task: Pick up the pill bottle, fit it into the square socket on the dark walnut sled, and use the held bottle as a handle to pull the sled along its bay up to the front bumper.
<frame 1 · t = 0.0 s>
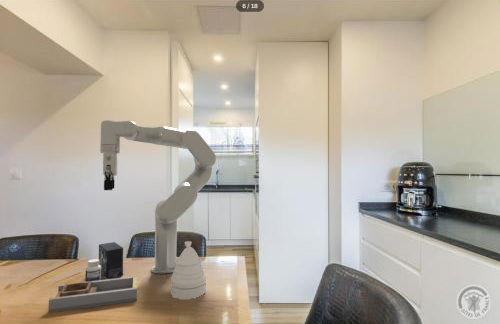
hand: (109, 189, 126), 37 cm above the table, tool pointing down, fingers open, 9 cm apart
small box: (110, 273, 129), on the table
pill bottle: (93, 286, 115), on the table
bay: (97, 298, 104), on the table
honey pot: (188, 292, 110), on the table
crate: (76, 292, 101), point 3 cm above the table, slide at 0.0 cm
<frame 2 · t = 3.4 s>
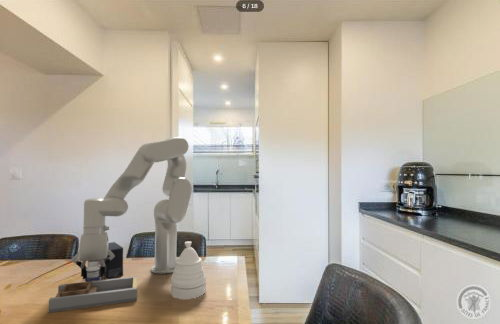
hand: (93, 276, 115), 4 cm above the table, tool pointing down, fingers closed on pill bottle, 5 cm apart
pill bottle: (93, 286, 115), on the table, touching gripper
everything else where it was.
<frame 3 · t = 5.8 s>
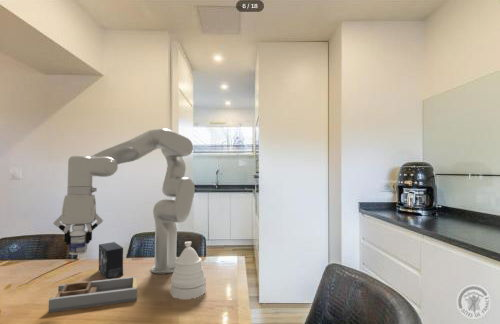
hand: (78, 242, 103), 20 cm above the table, tool pointing down, fingers closed on pill bottle, 5 cm apart
pill bottle: (78, 253, 102), point 16 cm above the table, touching gripper
everything else where it was.
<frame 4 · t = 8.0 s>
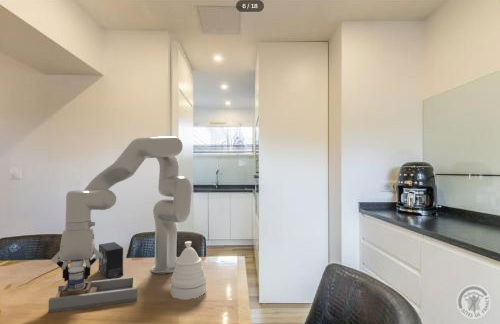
hand: (76, 278, 101), 8 cm above the table, tool pointing down, fingers closed on pill bottle, 5 cm apart
pill bottle: (76, 289, 101), point 4 cm above the table, touching gripper
everything else where it was.
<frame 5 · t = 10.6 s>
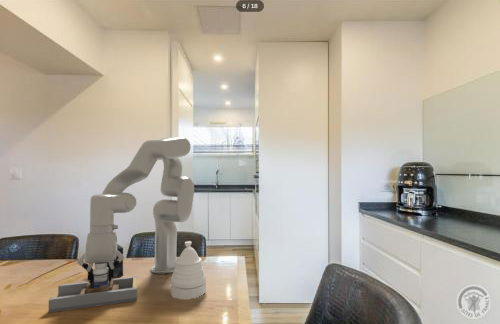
hand: (100, 280, 104), 6 cm above the table, tool pointing down, fingers closed on pill bottle, 5 cm apart
pill bottle: (100, 290, 104), point 2 cm above the table, touching crate, gripper
crate: (99, 289, 104), point 3 cm above the table, slide at 7.3 cm, touching pill bottle
everything else where it was.
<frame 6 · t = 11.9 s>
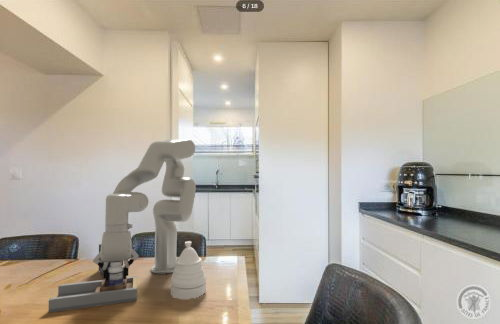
hand: (116, 278, 106), 6 cm above the table, tool pointing down, fingers closed on pill bottle, 5 cm apart
pill bottle: (115, 288, 106), point 2 cm above the table, touching crate, gripper
crate: (114, 287, 106), point 3 cm above the table, slide at 11.8 cm, touching pill bottle
everything else where it was.
when the fingers open (6 cm above the table, at t = 13.1 s): pill bottle stays where it is, resting on crate.
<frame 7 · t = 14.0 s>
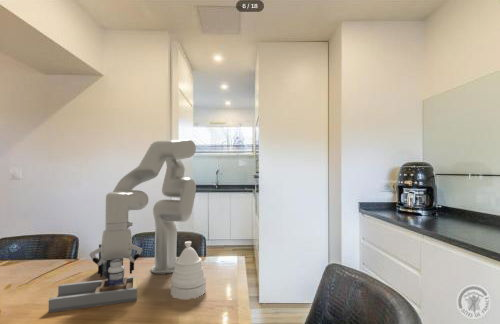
hand: (116, 274, 106), 8 cm above the table, tool pointing down, fingers open, 9 cm apart
pill bottle: (115, 288, 106), point 2 cm above the table, touching crate
everything else where it was.
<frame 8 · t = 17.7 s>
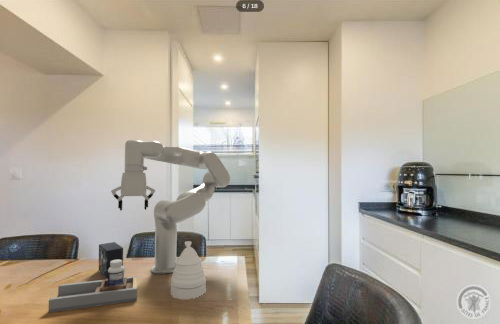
hand: (133, 209, 125), 28 cm above the table, tool pointing down, fingers open, 9 cm apart
nothing on the table moved.
at the end: crate slide at 11.8 cm; pill bottle inside the target area (0.7 cm from its centre), point 2.4 cm above the table; pill bottle tilted 0° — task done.
